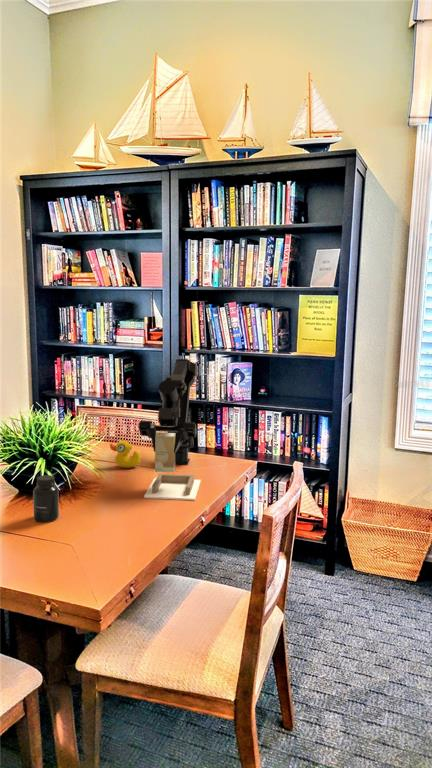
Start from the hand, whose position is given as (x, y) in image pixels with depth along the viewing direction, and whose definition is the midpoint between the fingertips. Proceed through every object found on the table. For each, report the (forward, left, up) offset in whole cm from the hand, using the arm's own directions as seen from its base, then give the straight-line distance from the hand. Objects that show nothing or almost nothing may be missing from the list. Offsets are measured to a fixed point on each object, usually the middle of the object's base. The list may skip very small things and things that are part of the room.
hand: (164, 451), depth 178 cm
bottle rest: (-2, +3, -13) cm, 14 cm away
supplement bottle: (+26, -29, -13) cm, 41 cm away
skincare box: (-1, 0, -7) cm, 7 cm away
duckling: (-23, -18, -13) cm, 32 cm away
